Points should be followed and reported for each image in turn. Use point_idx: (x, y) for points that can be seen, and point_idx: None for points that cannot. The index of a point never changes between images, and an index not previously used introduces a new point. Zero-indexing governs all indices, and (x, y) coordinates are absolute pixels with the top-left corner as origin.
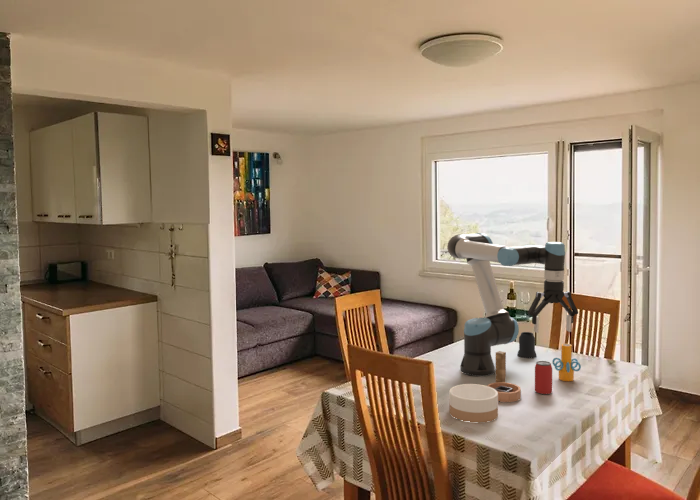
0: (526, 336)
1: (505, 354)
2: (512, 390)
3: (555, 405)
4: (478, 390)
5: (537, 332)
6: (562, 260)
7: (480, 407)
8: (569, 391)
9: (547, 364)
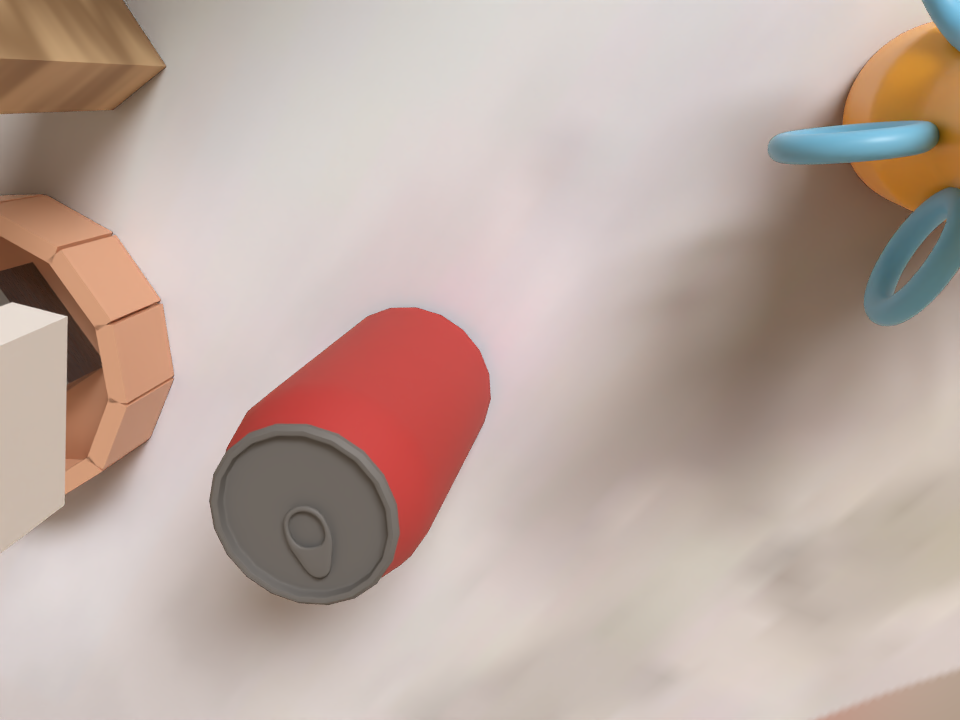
0: None
1: None
2: (75, 381)
3: (337, 652)
4: None
5: (41, 498)
6: None
7: None
8: (665, 456)
9: (332, 564)
